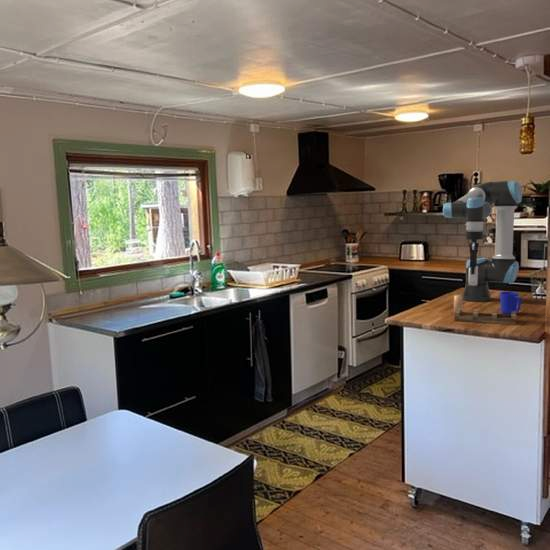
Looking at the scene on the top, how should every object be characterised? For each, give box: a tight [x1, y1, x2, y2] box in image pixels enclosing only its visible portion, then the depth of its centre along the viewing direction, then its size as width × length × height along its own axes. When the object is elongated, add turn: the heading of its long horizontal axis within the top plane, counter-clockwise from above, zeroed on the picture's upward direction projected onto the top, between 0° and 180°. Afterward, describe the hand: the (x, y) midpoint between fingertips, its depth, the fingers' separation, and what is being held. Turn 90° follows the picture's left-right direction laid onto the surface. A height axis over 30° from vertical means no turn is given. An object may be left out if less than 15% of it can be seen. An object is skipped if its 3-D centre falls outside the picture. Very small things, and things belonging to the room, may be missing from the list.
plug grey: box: [468, 266, 478, 286], centre depth 255 cm, size 4×4×9 cm
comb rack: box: [454, 308, 517, 326], centre depth 250 cm, size 10×26×4 cm, turn 66°
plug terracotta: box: [453, 294, 463, 315], centre depth 266 cm, size 4×4×9 cm
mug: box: [499, 291, 522, 314], centre depth 262 cm, size 8×12×10 cm
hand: (472, 280), depth 255 cm, fingers closed on plug grey, 3 cm apart
